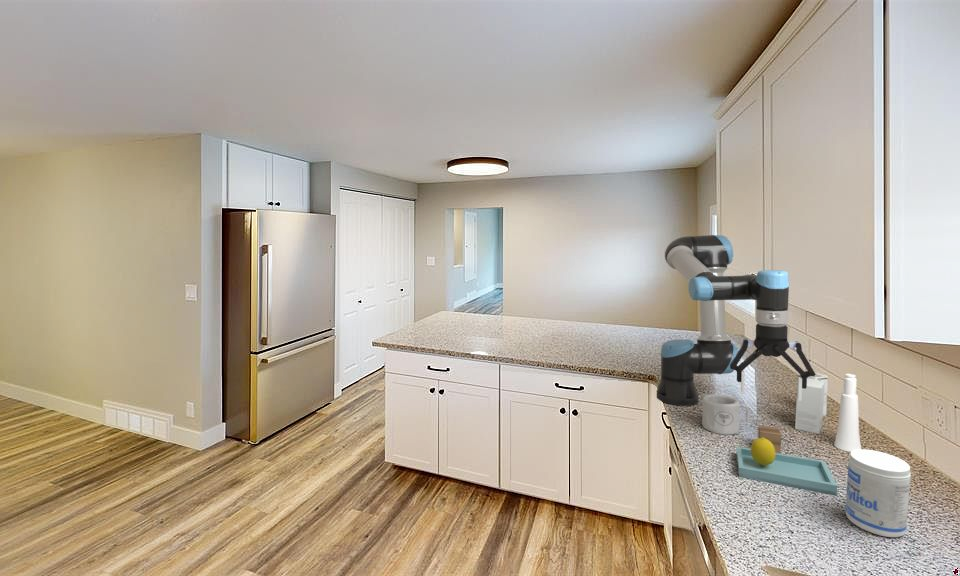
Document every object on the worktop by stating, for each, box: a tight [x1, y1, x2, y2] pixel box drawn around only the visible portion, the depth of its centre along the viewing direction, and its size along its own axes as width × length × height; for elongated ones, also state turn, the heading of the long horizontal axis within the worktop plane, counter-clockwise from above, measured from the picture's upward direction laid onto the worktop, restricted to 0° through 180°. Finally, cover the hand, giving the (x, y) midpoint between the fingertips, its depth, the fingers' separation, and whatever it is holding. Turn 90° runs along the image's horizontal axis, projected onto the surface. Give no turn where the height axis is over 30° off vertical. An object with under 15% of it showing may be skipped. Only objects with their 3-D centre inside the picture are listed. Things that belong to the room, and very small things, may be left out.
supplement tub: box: [845, 448, 912, 538], centre depth 89 cm, size 10×10×15 cm
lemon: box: [750, 437, 776, 466], centre depth 113 cm, size 6×6×8 cm
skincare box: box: [794, 378, 825, 435], centre depth 136 cm, size 8×7×16 cm
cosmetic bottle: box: [833, 373, 862, 453], centre depth 122 cm, size 6×6×22 cm
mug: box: [701, 393, 750, 436], centre depth 138 cm, size 14×11×10 cm
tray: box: [736, 446, 838, 496], centre depth 111 cm, size 13×20×2 cm, turn 61°
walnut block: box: [757, 424, 782, 454], centre depth 123 cm, size 5×5×6 cm
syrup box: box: [799, 372, 829, 417], centre depth 146 cm, size 6×6×14 cm
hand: (770, 395), depth 122 cm, fingers open, 13 cm apart
